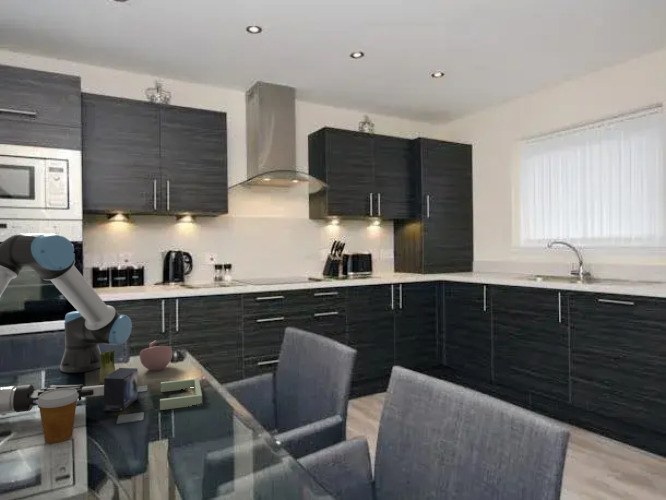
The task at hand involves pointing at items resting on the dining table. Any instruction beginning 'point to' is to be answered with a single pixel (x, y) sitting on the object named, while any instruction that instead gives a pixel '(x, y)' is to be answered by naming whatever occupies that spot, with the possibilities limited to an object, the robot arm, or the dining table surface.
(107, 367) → the fennel bulb
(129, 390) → the small box
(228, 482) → the dining table surface
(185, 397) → the track
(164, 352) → the mortar and pestle
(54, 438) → the disposable coffee cup
